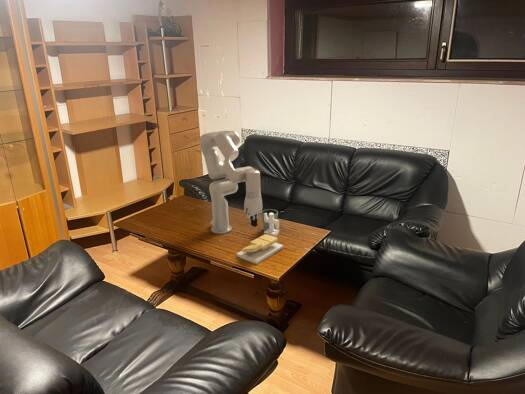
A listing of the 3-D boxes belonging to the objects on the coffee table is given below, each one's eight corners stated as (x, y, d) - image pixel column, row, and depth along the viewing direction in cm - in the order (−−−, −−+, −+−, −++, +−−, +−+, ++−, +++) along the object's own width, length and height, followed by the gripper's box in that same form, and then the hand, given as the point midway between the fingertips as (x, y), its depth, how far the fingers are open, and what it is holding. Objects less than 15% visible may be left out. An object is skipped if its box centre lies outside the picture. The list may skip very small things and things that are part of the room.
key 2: (250, 244, 213) (250, 241, 212) (257, 241, 217) (257, 237, 216) (263, 249, 207) (263, 246, 206) (270, 245, 211) (270, 242, 211)
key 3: (242, 252, 208) (241, 248, 208) (250, 248, 212) (249, 244, 212) (254, 251, 202) (253, 248, 201) (262, 247, 206) (260, 244, 206)
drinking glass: (276, 234, 235) (276, 215, 231) (260, 232, 237) (259, 214, 232) (279, 227, 244) (279, 209, 240) (263, 226, 246) (263, 208, 242)
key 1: (258, 240, 218) (258, 237, 217) (265, 236, 222) (265, 233, 221) (271, 244, 212) (271, 241, 211) (278, 240, 216) (278, 237, 216)
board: (236, 256, 209) (236, 249, 208) (264, 241, 226) (264, 235, 225) (256, 264, 201) (256, 257, 200) (283, 247, 217) (283, 241, 216)
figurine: (276, 240, 226) (275, 216, 221) (261, 237, 230) (261, 214, 225) (281, 236, 232) (281, 212, 227) (267, 233, 236) (267, 210, 231)
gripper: (257, 188, 211) (258, 219, 218) (238, 195, 201) (239, 228, 207) (268, 191, 207) (268, 223, 213) (248, 199, 196) (249, 232, 202)
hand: (254, 225), depth 210 cm, fingers closed
